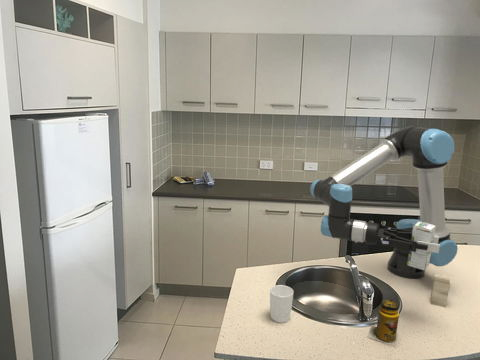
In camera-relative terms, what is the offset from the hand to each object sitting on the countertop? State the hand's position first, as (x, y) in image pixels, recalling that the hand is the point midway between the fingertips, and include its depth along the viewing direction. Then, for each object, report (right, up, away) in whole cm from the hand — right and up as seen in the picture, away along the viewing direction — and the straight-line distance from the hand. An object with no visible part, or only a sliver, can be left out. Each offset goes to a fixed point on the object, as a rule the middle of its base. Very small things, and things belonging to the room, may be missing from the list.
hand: (438, 244), depth 128 cm
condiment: (-19, -29, -3) cm, 35 cm away
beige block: (+9, -25, +18) cm, 32 cm away
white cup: (-51, -26, +6) cm, 58 cm away
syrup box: (-5, -8, +4) cm, 10 cm away
